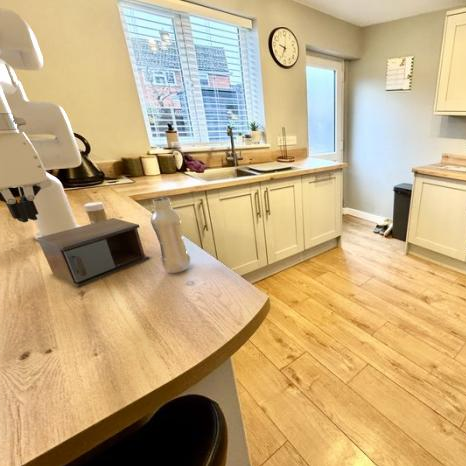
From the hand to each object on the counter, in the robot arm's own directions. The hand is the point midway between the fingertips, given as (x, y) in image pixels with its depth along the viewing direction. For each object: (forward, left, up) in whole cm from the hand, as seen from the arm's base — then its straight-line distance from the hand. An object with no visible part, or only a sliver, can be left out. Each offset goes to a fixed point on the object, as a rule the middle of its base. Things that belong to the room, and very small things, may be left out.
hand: (27, 219), depth 59 cm
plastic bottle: (+12, +20, -19) cm, 31 cm away
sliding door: (-1, +8, -18) cm, 20 cm away
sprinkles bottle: (-25, +22, -19) cm, 38 cm away
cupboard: (-9, +12, -19) cm, 25 cm away
